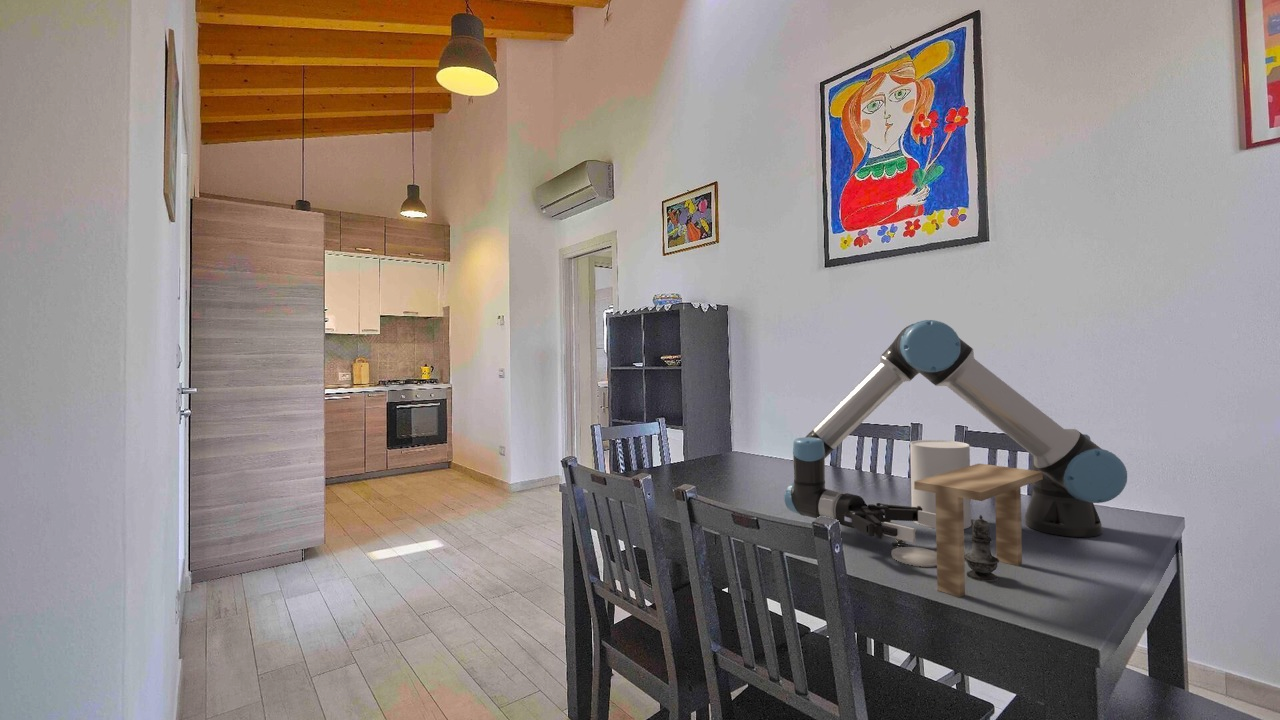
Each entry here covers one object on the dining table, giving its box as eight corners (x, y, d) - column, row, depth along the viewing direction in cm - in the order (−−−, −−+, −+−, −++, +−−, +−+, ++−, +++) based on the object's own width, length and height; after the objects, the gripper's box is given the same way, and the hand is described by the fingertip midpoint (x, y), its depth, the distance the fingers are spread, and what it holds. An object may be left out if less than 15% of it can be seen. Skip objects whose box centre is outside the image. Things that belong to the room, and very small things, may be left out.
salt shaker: (958, 571, 117) (956, 511, 117) (986, 570, 117) (984, 510, 117) (977, 583, 111) (976, 519, 111) (1006, 581, 112) (1005, 518, 111)
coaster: (931, 550, 129) (931, 546, 129) (952, 566, 119) (952, 563, 119) (884, 550, 130) (884, 546, 130) (901, 566, 120) (901, 563, 120)
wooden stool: (916, 583, 111) (914, 481, 111) (980, 553, 127) (978, 463, 127) (983, 604, 102) (981, 492, 102) (1044, 569, 117) (1042, 471, 117)
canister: (917, 528, 146) (915, 447, 146) (907, 513, 159) (906, 439, 159) (977, 531, 142) (976, 448, 142) (963, 515, 155) (961, 440, 155)
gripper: (874, 515, 147) (961, 535, 129) (810, 535, 132) (899, 560, 115) (873, 485, 146) (960, 501, 129) (809, 501, 132) (898, 522, 115)
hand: (932, 529), depth 122 cm, fingers open, 13 cm apart
